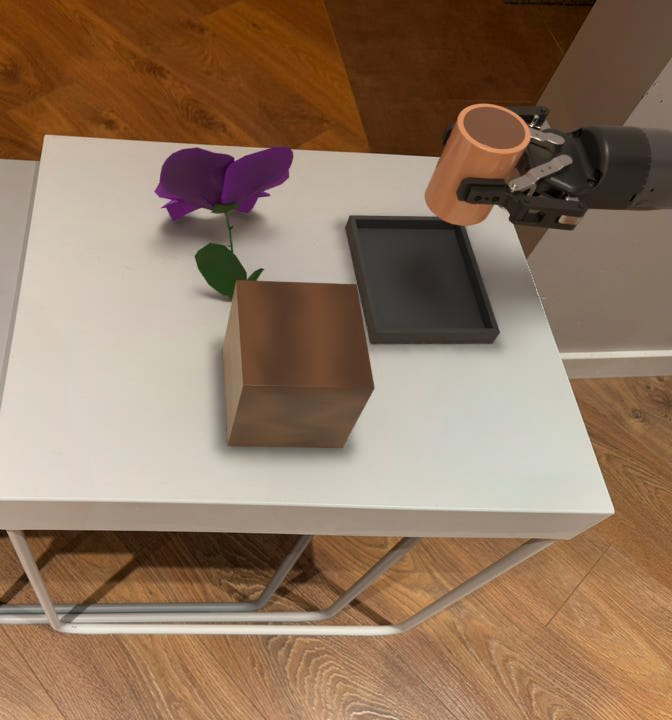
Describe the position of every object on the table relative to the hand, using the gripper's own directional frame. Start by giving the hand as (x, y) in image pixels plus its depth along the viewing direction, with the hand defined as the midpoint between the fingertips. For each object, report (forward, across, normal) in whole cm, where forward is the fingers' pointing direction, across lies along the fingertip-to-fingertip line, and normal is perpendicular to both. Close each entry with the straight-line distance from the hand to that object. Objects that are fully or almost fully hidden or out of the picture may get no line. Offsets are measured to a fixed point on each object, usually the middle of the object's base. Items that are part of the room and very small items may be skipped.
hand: (452, 161), depth 70 cm
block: (+14, +15, +17) cm, 27 cm away
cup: (-2, 0, +5) cm, 6 cm away
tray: (-2, 0, +17) cm, 18 cm away
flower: (+19, -3, +18) cm, 26 cm away
